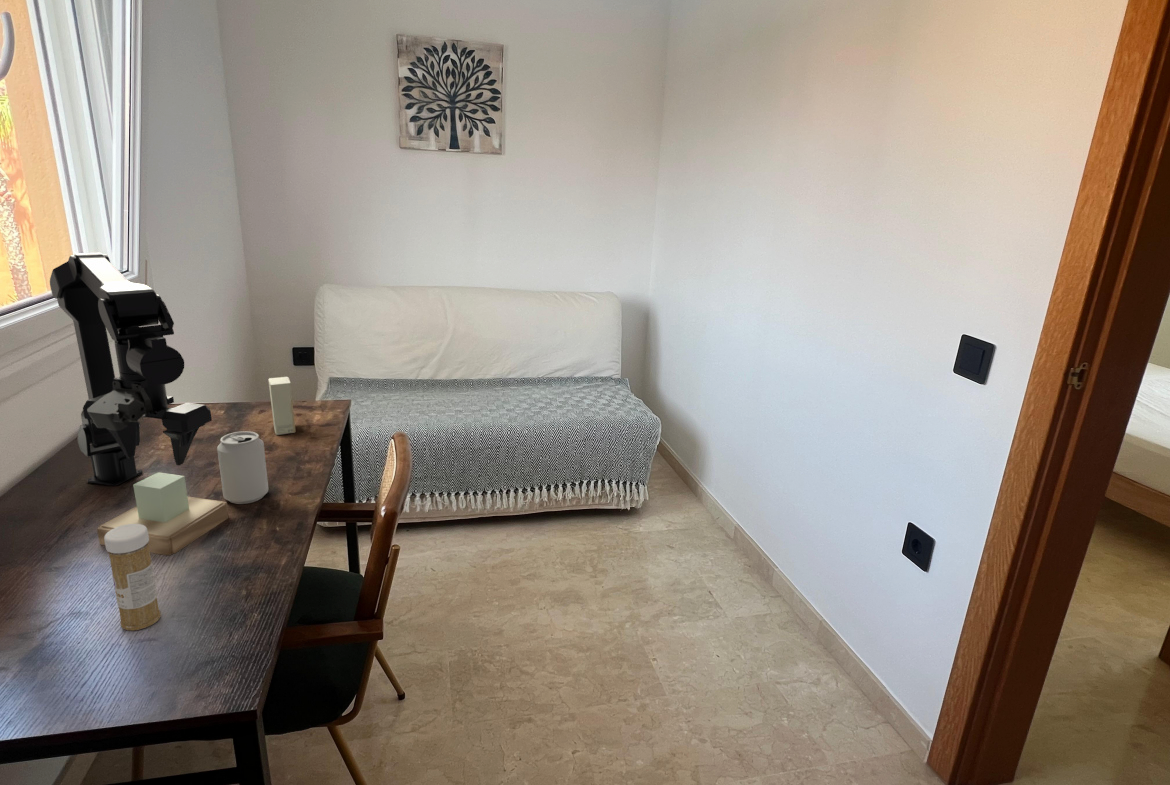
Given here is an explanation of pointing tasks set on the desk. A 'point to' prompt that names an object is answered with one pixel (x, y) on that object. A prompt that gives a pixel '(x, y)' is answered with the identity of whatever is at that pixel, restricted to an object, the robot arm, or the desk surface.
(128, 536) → the sprinkles bottle
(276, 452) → the desk surface
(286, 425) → the skincare box
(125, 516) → the base slab
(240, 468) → the can
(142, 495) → the green block
